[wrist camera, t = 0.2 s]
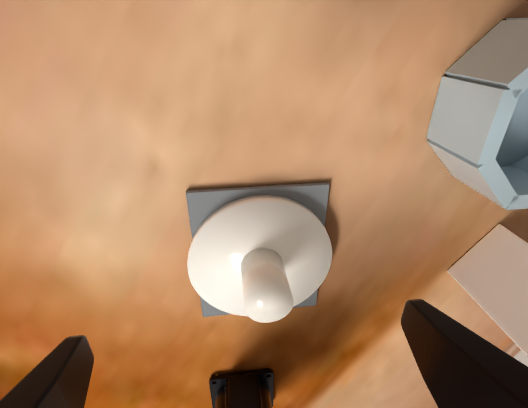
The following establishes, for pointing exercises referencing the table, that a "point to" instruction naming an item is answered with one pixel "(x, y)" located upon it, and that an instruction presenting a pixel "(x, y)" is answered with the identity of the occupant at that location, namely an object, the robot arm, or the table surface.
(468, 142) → the bowl
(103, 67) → the table surface
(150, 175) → the table surface
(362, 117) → the table surface
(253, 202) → the lid
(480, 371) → the robot arm
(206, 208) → the mat
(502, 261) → the milk
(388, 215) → the table surface
